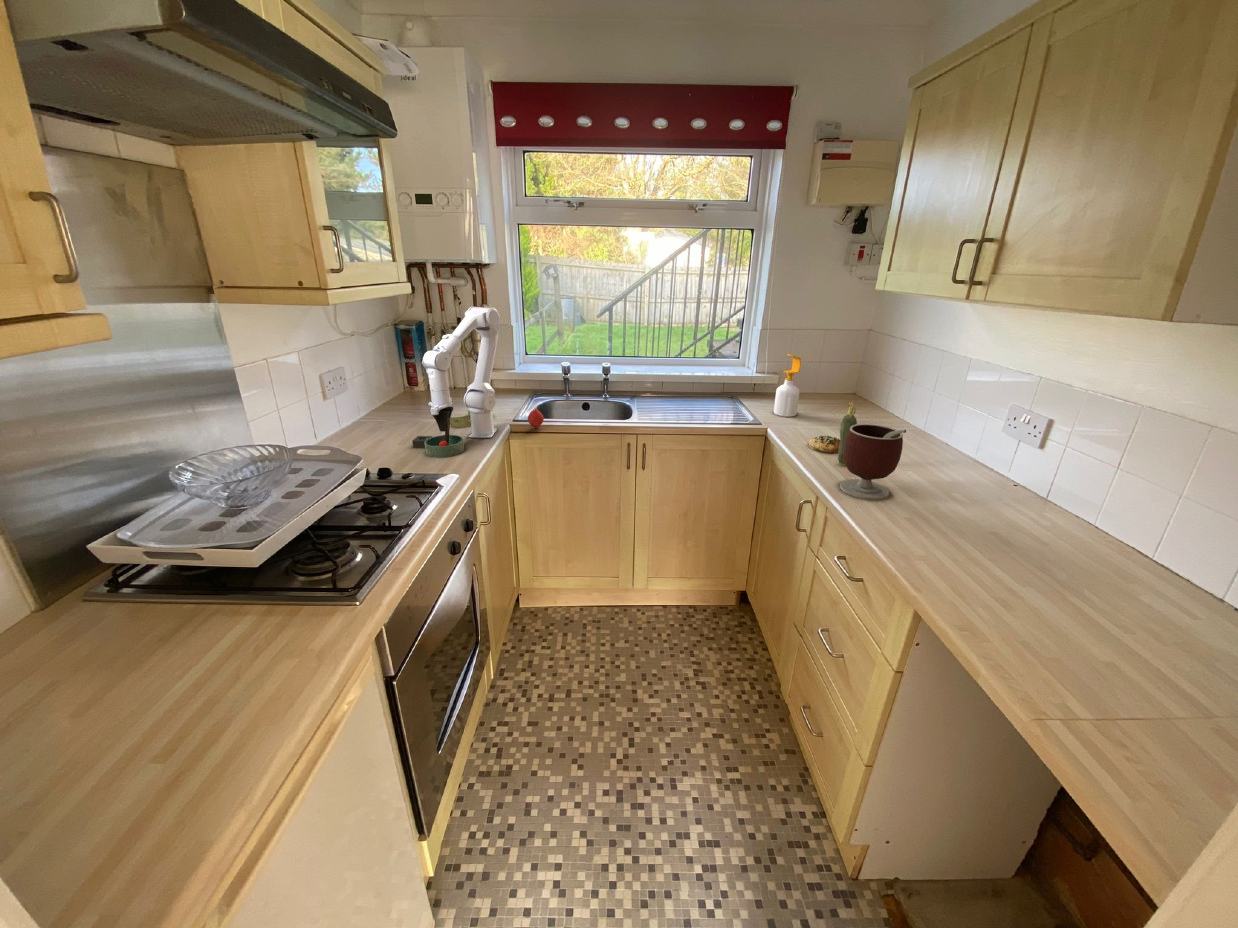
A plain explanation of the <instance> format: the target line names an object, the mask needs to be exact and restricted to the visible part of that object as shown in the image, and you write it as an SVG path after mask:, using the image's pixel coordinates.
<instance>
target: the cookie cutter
mask: <svg viewBox="0 0 1238 928" xmlns="http://www.w3.org/2000/svg"><path fill="white" fill-rule="evenodd" d="M450 425H451V427H453V428H467V427H471V417H470V411H468V410H467V415H463V416H455V417H452V416H451V418H450Z"/></svg>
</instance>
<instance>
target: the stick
mask: <svg viewBox="0 0 1238 928" xmlns="http://www.w3.org/2000/svg"><path fill="white" fill-rule="evenodd" d="M450 429H451V424H450V418H449V417H448V429H447V431H446V432H444V435H445V441H446V442H447V443H448V445H449V435H450Z"/></svg>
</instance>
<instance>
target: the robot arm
mask: <svg viewBox="0 0 1238 928" xmlns="http://www.w3.org/2000/svg"><path fill="white" fill-rule="evenodd" d="M501 319H502V317H501V316H500V314H499V311H498V309H496V308H495V307H483V306H482V307H479V306H474V305H473V306H470V307H469V308H468V309H467V310H466V311H465V312H464V317H463V318H462V320H461V321H460V322H459V324H458V325H457V327H456V328H455V329H454V331H452V333H447V334H444V335H442V337H441V340H440V341H439V342H438V343H437V344H436V345H435V346H433V349H432V350H428V351H426V352H425V353H424V355H423V357H422V360H421V363H422V366H423V367H424V369H425V370H426V374H427V377H428V384H429V390H430V392H429V393H430V398H431V401H430V402H428V406H429V407H430V406H431V407H430V415H431V416H432V417H433V419H434V420H435V423H436V424H437V427H438V430H439V432H441V433H442V432H444V433H445V432H446V431H447V429H448V417H449V418H451V417H452V413H453V411H454V406H452V404H453V397H451V392H450V384H449V377H448V376H449V375H448V369H449V368H450V367H451V362H452V359H453V357H454V356H455V355H456V353H458V351H459V350H460V349H461V347H462V341H463V340H464V339H465V338H466V337H467V336H468V335H469V334H470V333H471V332H472V331H473V330H475V331H476V333H478V334H479V336H480V337H481V339H480V345H479V350H478V355H477V362H476V368H475V374H474V380H473V382H471V383H470V384H469V385H468V386H467V388H466V393H465V394H464V396H463V404H464V406H465V407H466V408H467V412H468V411H470V417H471V419H470V420H471V426H470V427H471V433H470V434H469V435H468V438H470V439H471V438H472V439H473V438H477V439H478V438H479V439H481V438H482V439H490V438H492V437H493V436H494V435H495V434H496V432H497V431H498V428H495V421H494V413H493V410H494V408H495V405H496V398H495V397H496V390H495V389H494V388H493V387H492V386H491V380H492V375H493V369H494V362H495V358H496V352H497V346H498V341H499V340H498V339H499V331H500V324H501Z"/></svg>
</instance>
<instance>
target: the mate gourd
mask: <svg viewBox="0 0 1238 928" xmlns="http://www.w3.org/2000/svg"><path fill="white" fill-rule="evenodd" d="M906 433H907V430H906V429H896V428H892V427H890V426H885V425H882V424H881V425H880V424H874V423H873V424H872V423H857V425H853V426H851V427H850V430H849V432H848V434H847V437H846V440H845V444H844V453H843V457H844V463H845V464H844V465H845V467H846V469H847V471H849V473H850V474H853V475H854V476H857V477H858V478H859V479H858V478H850V479H844V480H842V481H841V482H840V484H839V488H840V490H841V491H842V492H844V493H845V494H847V495H849V496H852V497H855V498H859V499H862V500H863V499H864V500H873V501H874V500H875V501H877V500H878V501H879V500H884V499H886V498H888V497H889V494H890V490H889V489H888V488H887V487H886V486H884V485H882V484H880V483H878V482H874V481H872V480H881V479H885V478H887V477H889V476H890V475H891V474H892V473H894V472H895V470H896V468H897V467H898V465H899V462H900V459H901V457H902V452H903V447H904V446H903V445H904V444H903V443H904V438H903V437H904V434H906Z"/></svg>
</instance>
